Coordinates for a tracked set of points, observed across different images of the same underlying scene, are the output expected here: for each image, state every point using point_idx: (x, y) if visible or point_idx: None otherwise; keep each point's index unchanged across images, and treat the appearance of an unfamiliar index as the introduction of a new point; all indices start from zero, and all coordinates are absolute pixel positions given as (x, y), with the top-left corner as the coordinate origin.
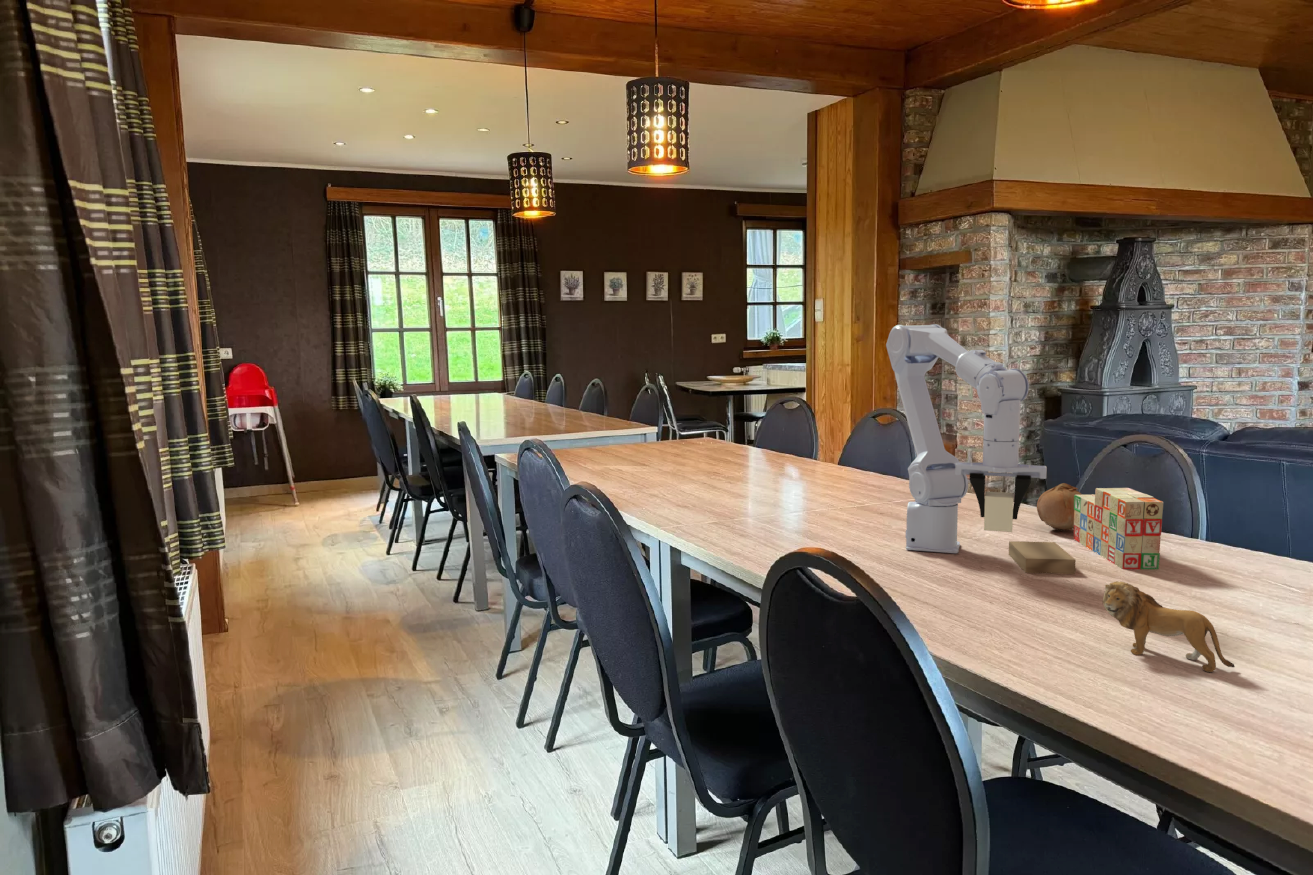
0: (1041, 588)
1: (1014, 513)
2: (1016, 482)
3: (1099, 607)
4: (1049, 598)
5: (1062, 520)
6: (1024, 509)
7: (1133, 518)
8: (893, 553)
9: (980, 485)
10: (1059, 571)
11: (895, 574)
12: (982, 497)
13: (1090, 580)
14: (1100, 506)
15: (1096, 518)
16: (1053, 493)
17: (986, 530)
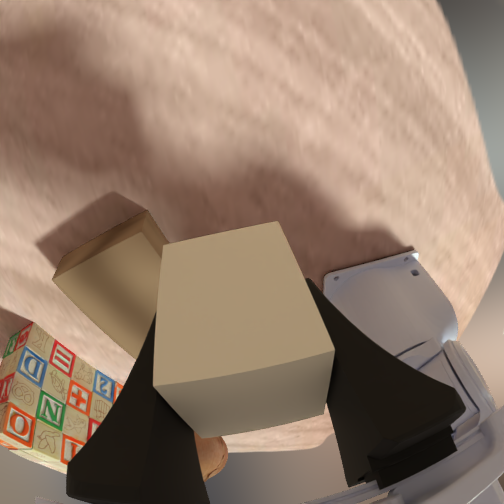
0: (73, 94)
1: None
2: (131, 488)
3: None
4: (44, 26)
5: None
6: (253, 448)
7: (3, 404)
8: (436, 219)
9: (392, 404)
10: (83, 247)
11: (434, 58)
12: (342, 348)
13: (24, 229)
14: None
15: None
16: (205, 469)
17: (267, 223)
